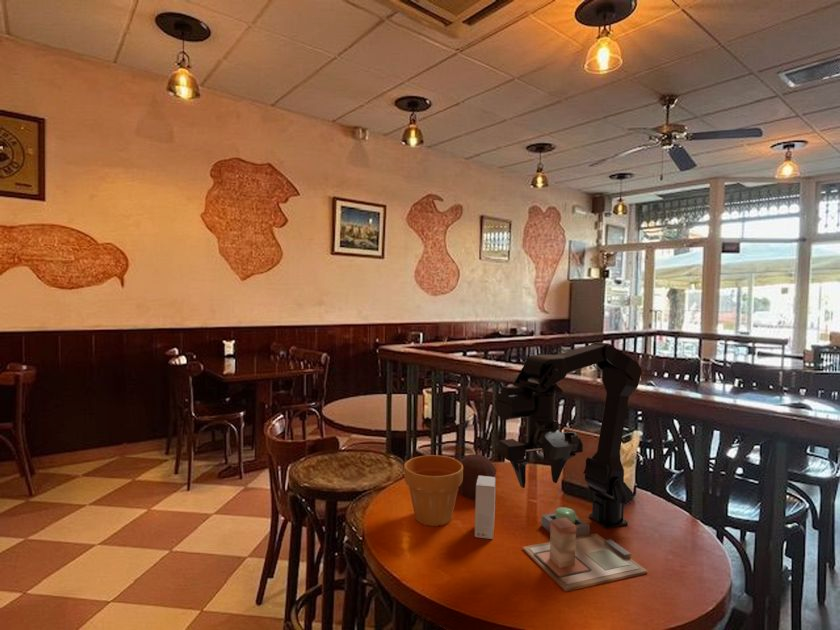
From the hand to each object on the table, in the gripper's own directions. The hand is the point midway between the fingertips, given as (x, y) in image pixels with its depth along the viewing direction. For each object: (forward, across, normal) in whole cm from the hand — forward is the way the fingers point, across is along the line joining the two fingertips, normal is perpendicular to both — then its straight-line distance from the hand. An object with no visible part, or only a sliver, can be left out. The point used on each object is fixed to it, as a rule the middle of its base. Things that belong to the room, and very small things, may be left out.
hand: (538, 484), depth 104 cm
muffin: (+13, -2, +28) cm, 31 cm away
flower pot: (+13, -18, +18) cm, 28 cm away
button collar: (+13, +9, +2) cm, 16 cm away
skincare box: (+13, -9, +8) cm, 18 cm away
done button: (+11, +9, +2) cm, 15 cm away
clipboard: (+13, +5, -9) cm, 17 cm away
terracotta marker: (+12, 0, -9) cm, 15 cm away
